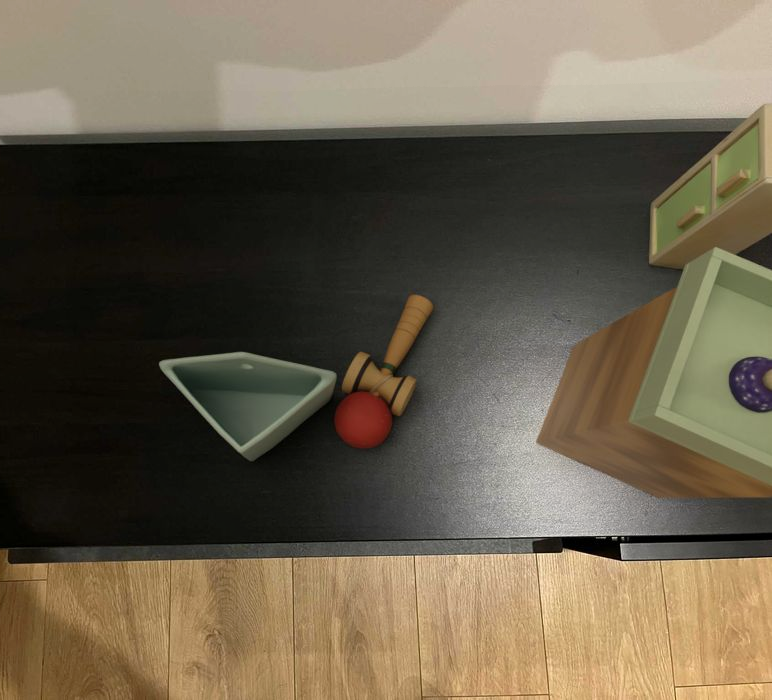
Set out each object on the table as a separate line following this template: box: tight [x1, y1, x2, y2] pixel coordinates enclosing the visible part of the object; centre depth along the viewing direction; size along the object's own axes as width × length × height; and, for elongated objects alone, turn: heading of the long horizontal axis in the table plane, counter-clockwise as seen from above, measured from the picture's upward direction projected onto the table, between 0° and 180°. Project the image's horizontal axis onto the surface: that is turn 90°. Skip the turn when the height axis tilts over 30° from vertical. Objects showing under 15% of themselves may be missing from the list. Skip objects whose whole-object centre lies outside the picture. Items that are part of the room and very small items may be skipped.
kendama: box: [334, 294, 434, 450], centre depth 74 cm, size 8×6×18 cm
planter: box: [158, 351, 338, 462], centre depth 66 cm, size 16×8×20 cm, turn 86°
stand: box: [535, 286, 772, 499], centre depth 64 cm, size 14×12×24 cm
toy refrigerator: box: [648, 103, 772, 271], centre depth 70 cm, size 8×7×21 cm
